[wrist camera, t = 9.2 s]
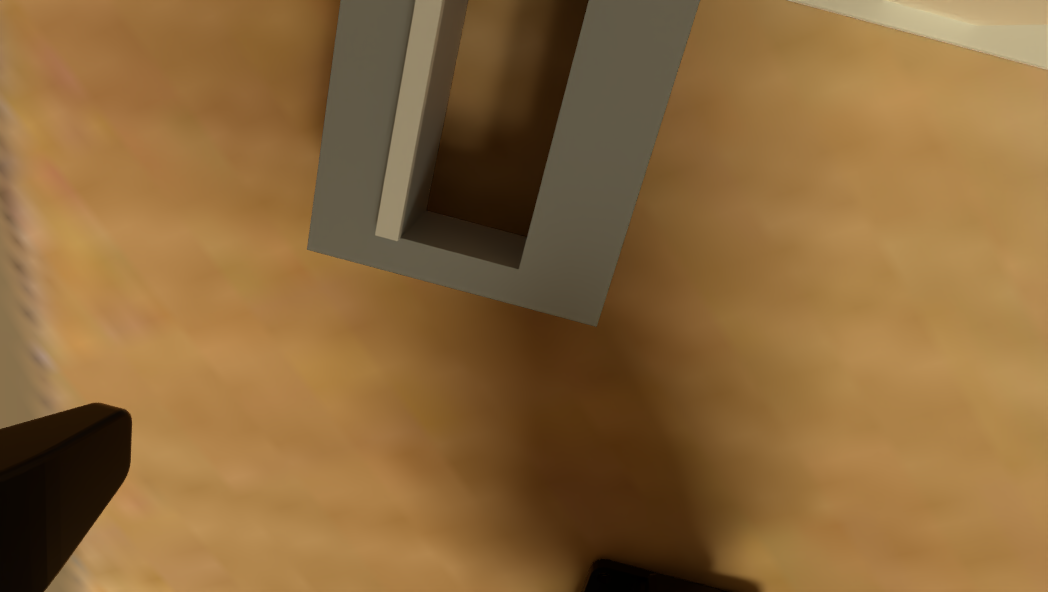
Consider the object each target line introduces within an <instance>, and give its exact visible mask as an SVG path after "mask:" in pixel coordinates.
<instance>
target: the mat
mask: <svg viewBox="0 0 1048 592" xmlns="http://www.w3.org/2000/svg"><path fill="white" fill-rule="evenodd" d="M788 1H792V2H796V3H799V4H803V5H807V6H811V7H814V8H818V9H822V10H825V11H829V12H833V13H837V14H840V15H844V16H848V17H852V18H855V19H859V20H863V21H867V22H870V23H874V24H878V25H881V26H885V27H889V28H893V29H896V30H900V31H904V32H908V33H911V34H915V35H919V36H923V37H926V38H930V39H934V40H937V41H941V42H945V43H949V44H952V45H956V46H960V47H964V48H967V49H971V50H975V51H978V52H982V53H986V54H990V55H993V56H997V57H1001V58H1005V59H1008V60H1012V61H1016V62H1020V63H1023V64H1027V65H1031V66H1034V67H1038V68H1042V69H1046V70H1048V25H987V26H976V25H972V24H968V23H965V22H961V21H957V20H954V19H950V18H947V17H943V16H939V15H936V14H932V13H929V12H925V11H921V10H918V9H914V8H910V7H907V6H903V5H900V4H896V3H892V2H889V1H885V0H788Z"/></svg>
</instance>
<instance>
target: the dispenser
mask: <svg viewBox="0 0 1048 592" xmlns="http://www.w3.org/2000/svg"><path fill="white" fill-rule="evenodd" d="M699 2H700V0H589V2H588V5H587V9H586V13H585V17H584V21H583V25H582V28H581V32H580V36H579V40H578V44H577V48H576V51H575V55H574V59H573V63H572V67H571V71H570V74H569V78H568V82H567V86H566V90H565V94H564V98H563V101H562V105H561V109H560V113H559V117H558V121H557V124H556V128H555V132H554V136H553V140H552V144H551V147H550V151H549V155H548V159H547V163H546V167H545V170H544V174H543V178H542V182H541V186H540V190H539V194H538V197H537V201H536V205H535V209H534V213H533V217H532V220H531V224H530V228H529V232H528V236H527V237H524V236H521V235H517V234H513V233H509V232H506V231H502V230H498V229H494V228H491V227H487V226H483V225H479V224H476V223H472V222H468V221H465V220H461V219H457V218H453V217H450V216H446V215H442V214H438V213H435V212H431V211H427V210H426V209H427V204H428V199H429V194H430V189H431V184H432V179H433V174H434V169H435V164H436V159H437V154H438V149H439V144H440V139H441V134H442V129H443V124H444V119H445V114H446V109H447V104H448V99H449V94H450V89H451V84H452V79H453V74H454V69H455V64H456V59H457V54H458V49H459V44H460V39H461V34H462V29H463V24H464V19H465V14H466V9H467V4H468V0H341V1H340V9H339V16H338V24H337V31H336V38H335V46H334V53H333V61H332V68H331V76H330V83H329V90H328V98H327V105H326V113H325V120H324V128H323V135H322V142H321V150H320V157H319V165H318V172H317V180H316V187H315V194H314V202H313V209H312V217H311V224H310V232H309V239H308V246H307V250H310V251H314V252H318V253H322V254H325V255H329V256H333V257H337V258H340V259H344V260H348V261H352V262H355V263H359V264H363V265H367V266H370V267H374V268H378V269H382V270H385V271H389V272H393V273H397V274H400V275H404V276H408V277H412V278H415V279H419V280H423V281H427V282H430V283H434V284H438V285H442V286H445V287H449V288H453V289H457V290H460V291H464V292H468V293H472V294H475V295H479V296H483V297H487V298H490V299H494V300H498V301H502V302H505V303H509V304H513V305H517V306H520V307H524V308H528V309H532V310H535V311H539V312H543V313H547V314H550V315H554V316H558V317H562V318H565V319H569V320H573V321H577V322H580V323H584V324H588V325H592V326H595V327H597V324H598V321H599V318H600V315H601V311H602V308H603V305H604V302H605V299H606V296H607V292H608V289H609V286H610V283H611V280H612V277H613V274H614V270H615V267H616V264H617V261H618V258H619V255H620V251H621V248H622V245H623V242H624V239H625V236H626V233H627V229H628V226H629V223H630V220H631V217H632V214H633V210H634V207H635V204H636V201H637V198H638V195H639V191H640V188H641V185H642V182H643V179H644V176H645V173H646V169H647V166H648V163H649V160H650V157H651V154H652V150H653V147H654V144H655V141H656V138H657V135H658V132H659V128H660V125H661V122H662V119H663V116H664V113H665V109H666V106H667V103H668V100H669V97H670V94H671V90H672V87H673V84H674V81H675V78H676V75H677V72H678V68H679V65H680V62H681V59H682V56H683V53H684V49H685V46H686V43H687V40H688V37H689V34H690V31H691V27H692V24H693V21H694V18H695V15H696V12H697V8H698V5H699Z"/></svg>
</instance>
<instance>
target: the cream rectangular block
mask: <svg viewBox="0 0 1048 592" xmlns="http://www.w3.org/2000/svg"><path fill="white" fill-rule="evenodd" d="M885 1H889V2H892V3H896V4H900V5H903V6H907V7H910V8H914V9H918V10H921V11H925V12H929V13H932V14H936V15H939V16H943V17H947V18H950V19H954V20H957V21H961V22H965V23H968V24H972V25H976V26H987V25H1048V0H885Z"/></svg>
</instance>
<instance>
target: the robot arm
mask: <svg viewBox="0 0 1048 592" xmlns="http://www.w3.org/2000/svg"><path fill="white" fill-rule="evenodd" d="M131 436H132V418H131V415H130V413H129V412H128V411H127V410H125V409H122V408H118V407H115V406H111V405H107V404H103V403H91V404H88V405H84V406H80V407H77V408H73V409H70V410H66V411H63V412H59V413H56V414H52V415H49V416H45V417H41V418H38V419H34V420H31V421H27V422H24V423H20V424H17V425H13V426H10V427H6V428H2V429H0V592H44V591H45V590H46V589H47V587H48V586H49V585H50V584H51V582H52V581H53V580H54V578H55V577H56V576H57V574H58V573H59V572H60V570H61V569H62V568H63V566H64V565H65V563H66V562H67V561H68V559H69V558H70V556H71V555H72V554H73V552H74V551H75V549H76V548H77V547H78V545H79V544H80V542H81V541H82V540H83V538H84V537H85V535H86V534H87V533H88V531H89V530H90V528H91V527H92V526H93V524H94V523H95V521H96V520H97V519H98V517H99V516H100V514H101V513H102V512H103V510H104V509H105V507H106V506H107V505H108V503H109V502H110V500H111V499H112V498H113V496H114V495H115V493H116V492H117V491H118V489H119V488H120V486H121V485H122V483H123V482H124V480H125V478H126V476H127V474H128V471H129V468H130V462H131ZM600 573H608V574H609V575H606V576H602V575H600ZM581 592H728V591H724V590H720V589H717V588H713V587H709V586H705V585H702V584H698V583H694V582H690V581H687V580H683V579H679V578H675V577H671V576H668V575H664V574H660V573H656V572H653V571H649V570H645V569H641V568H638V567H634V566H630V565H626V564H623V563H619V562H615V561H611V560H607V559H600V560H597V561H595V562H593V564H592V565H591V567H590V569H589V572H588V575H587V578H586V580H585V583H584V586H583V588H582V591H581Z"/></svg>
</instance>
